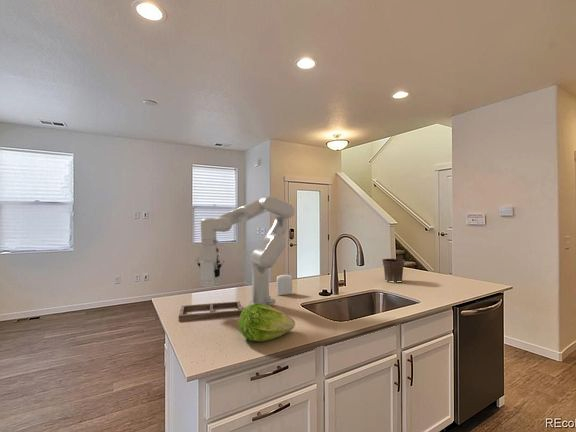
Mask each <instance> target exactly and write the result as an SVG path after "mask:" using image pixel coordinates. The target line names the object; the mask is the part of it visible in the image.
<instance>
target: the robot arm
mask: <svg viewBox="0 0 576 432" xmlns="http://www.w3.org/2000/svg"><path fill="white" fill-rule="evenodd" d="M265 213H270V214H271V213H272V215H273V218H274V219H273V220H274V221H273V224H272V226H271V227H270V229H269V230H268V232H267V234H265V236H264V238H263V240H262V245H263V246H264V248H259V247H258V248H255V249H254V250H253V251H252V252H251V254H250V265H251V301H250V302H249V303H248V306H249V305H251V304H254V303H259V304H264V305H268V306H271V307H272V304H273V305H275V304H276V299H275V298H271V297H272V296H270V269H269V268H272V267H273V266H274V265H275V264H276V263H277V262H278V260H279V258H280V257H281V255H282V253H283V252H284V250H285V249H286V246H287V240H286V238H285V234H286V232H287V230H288V227H289V221H288V220H289V219H291V218H292V217H293V216H294V215H295V213H296V212H295V207H294V206H293V205H292V204H291V203H289V202H287V201H284V200H281V199H278V198H276V197H274V196H262V197H260V198H258V199H255V200H252V201H251V202H249V203H246V204H244V205H242V206H240V207H237V208H236V209H233V210H230V211H228V212H226V213H224V214H221V215H220V216H218V217H216V218H211V217H209V218H207V217H206V218H202V219H201V220H200V238H201V244H200V248H199V257H198V258H196V260H195V263H196V264H197V266H198V267H199V269H200V262H201V261H213V262H214V264H215V268H216V269H215V277H218V276H220V274H221V268H222V267H223V265H224V263H225V260H224V259H223V258H222V257H221V251H220V250H221V249H220V247H219V244H218V243H219V240H218V239H217V232H222V233H226V232H228V231H229V232H230V231H231V229H232V227H233V225H236V224H239V223H244V222H248V221H251V220H253V219H255V218H256V217H260V216H261V215H263V214H265ZM216 262H217V263H216ZM216 264H217V265H216ZM220 277H221V276H220Z"/></svg>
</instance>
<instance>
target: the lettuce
mask: <svg viewBox="0 0 576 432" xmlns="http://www.w3.org/2000/svg"><path fill="white" fill-rule="evenodd" d="M242 310H243V311H242V312H241V315H240V316H239V318H238V322H237V323H238V324H237V325H238V326H237V328H238V330H239V331H240V333H241V335H242V336H243V337H244V339H248V340H249V341H253V342H267V341H271V340H274V339H277V338H280V337H281V336H282V335H283V336H284V335H285V334H288V333H289V332H290V331H292V330H293V329H294V328H295V326H296V321H295V320H294V319H293V318H292V317H290V316H289V315H287V314H286V313H284V312H283V311H281V310H279V309H276V308H274V307H273V306H272V305H271V306H268V305H264V304H259V303H254V304H251V305H249V304H248V306H246V307H244V308H242Z"/></svg>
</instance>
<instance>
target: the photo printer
mask: <svg viewBox="0 0 576 432" xmlns="http://www.w3.org/2000/svg"><path fill="white" fill-rule="evenodd" d="M292 294H293V276H292V275H290V274H281V275H277V276H276V295H277V296H284V295H292Z"/></svg>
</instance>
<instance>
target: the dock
mask: <svg viewBox="0 0 576 432" xmlns="http://www.w3.org/2000/svg"><path fill="white" fill-rule="evenodd" d="M228 308H237V309H236V310H235V309H233V310H222V311H214V310H216V309H228ZM179 310H180V311H179V313H178V322H185V321H186V322H187V321H197V320H207V319H210V320H211V319H218V318H219V319H221V318H229V317H240V315H241V312H242V311H243V308H242V303H241V302H240V301H227V302H214V303H213V302H212V303H200V304H189V305H187V304H186V305H181V306H180V309H179ZM202 310H203V311H204V310H209V312H197V313H186V314H185V312H190V311H191V312H192V311H202Z"/></svg>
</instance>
